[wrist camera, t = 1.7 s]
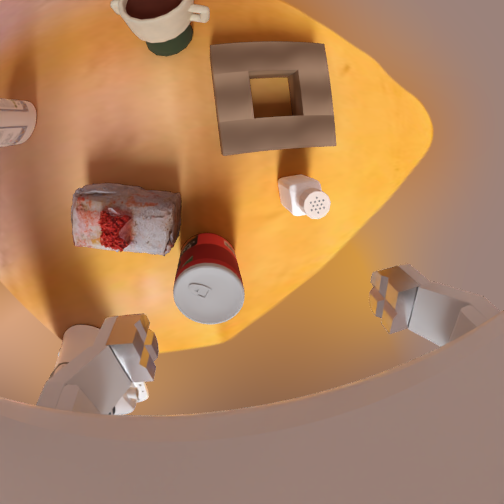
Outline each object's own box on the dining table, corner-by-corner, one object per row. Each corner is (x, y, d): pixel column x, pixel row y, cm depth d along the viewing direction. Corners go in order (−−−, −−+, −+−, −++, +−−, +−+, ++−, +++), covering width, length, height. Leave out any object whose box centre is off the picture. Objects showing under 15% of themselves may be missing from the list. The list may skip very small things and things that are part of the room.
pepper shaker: (307, 200, 38) (335, 219, 29) (280, 205, 38) (302, 226, 29) (303, 173, 36) (332, 184, 28) (276, 177, 36) (297, 190, 27)
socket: (322, 144, 35) (336, 146, 31) (221, 154, 34) (223, 155, 30) (311, 52, 29) (324, 43, 25) (209, 56, 28) (210, 45, 24)
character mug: (217, 24, 26) (223, -24, 14) (200, 66, 28) (196, 30, 17) (142, 14, 23) (119, -30, 12) (124, 56, 26) (89, 22, 14)
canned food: (186, 225, 37) (178, 258, 27) (241, 237, 39) (253, 273, 29) (176, 273, 39) (168, 318, 29) (228, 284, 41) (235, 329, 31)
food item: (92, 232, 35) (63, 260, 26) (91, 178, 32) (57, 192, 23) (180, 238, 38) (172, 270, 29) (184, 182, 35) (176, 196, 26)
